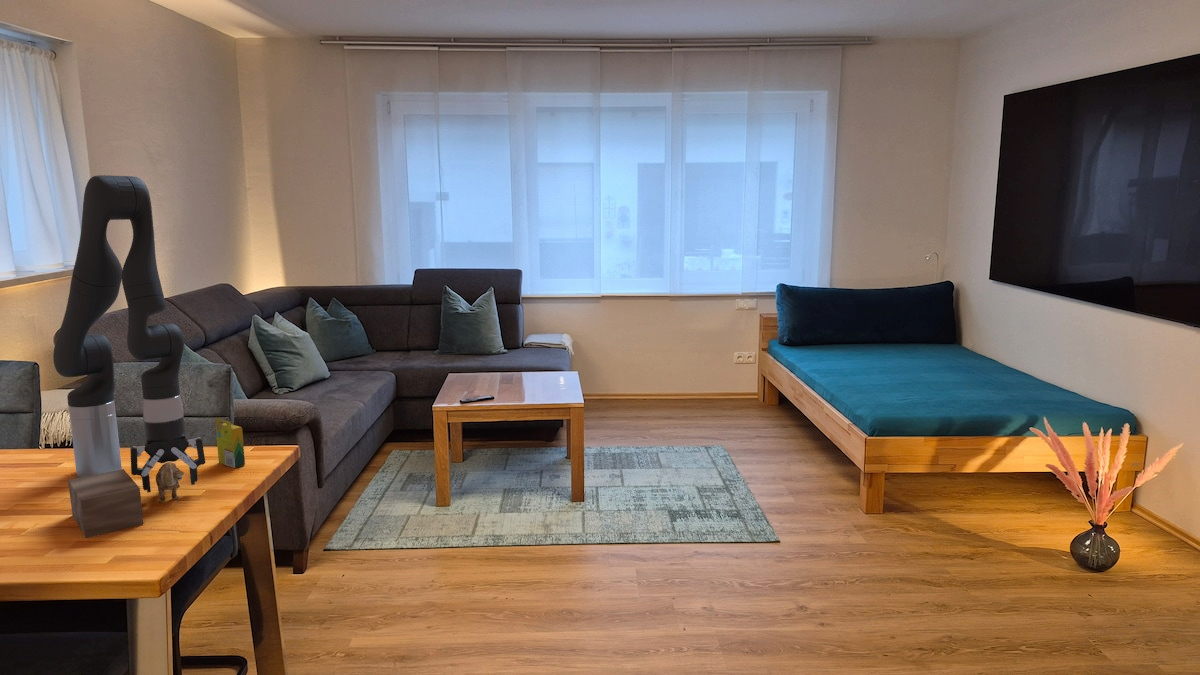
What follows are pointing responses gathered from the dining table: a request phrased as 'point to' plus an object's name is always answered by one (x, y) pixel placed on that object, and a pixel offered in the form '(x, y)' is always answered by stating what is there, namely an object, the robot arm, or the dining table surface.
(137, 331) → the robot arm
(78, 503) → the brown wooden block
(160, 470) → the lion figurine
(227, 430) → the crayon box
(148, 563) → the dining table surface
